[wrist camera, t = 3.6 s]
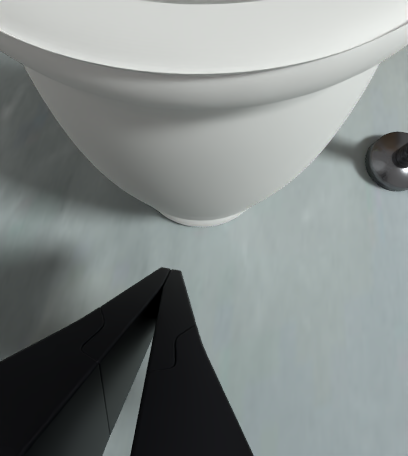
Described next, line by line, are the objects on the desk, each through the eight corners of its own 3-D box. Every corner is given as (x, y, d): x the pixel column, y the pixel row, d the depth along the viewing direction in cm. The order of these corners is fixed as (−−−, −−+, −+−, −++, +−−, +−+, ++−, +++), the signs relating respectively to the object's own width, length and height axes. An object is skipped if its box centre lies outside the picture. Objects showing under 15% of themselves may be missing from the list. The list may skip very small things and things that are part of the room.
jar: (134, 255, 18) (-198, 125, 3) (118, 114, 20) (-130, -383, 5) (292, 230, 18) (684, 7, 3) (262, 94, 20) (426, -419, 5)
